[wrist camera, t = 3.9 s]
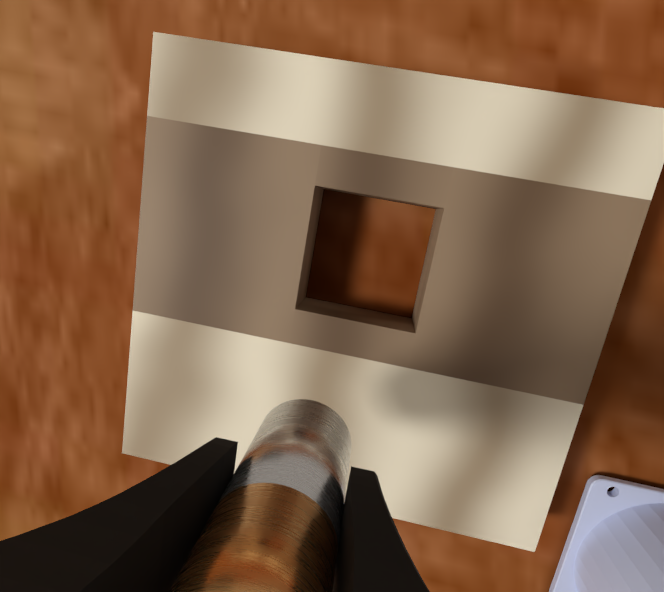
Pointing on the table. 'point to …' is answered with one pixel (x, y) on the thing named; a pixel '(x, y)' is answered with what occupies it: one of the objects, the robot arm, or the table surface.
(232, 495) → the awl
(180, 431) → the board
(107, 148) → the table surface
